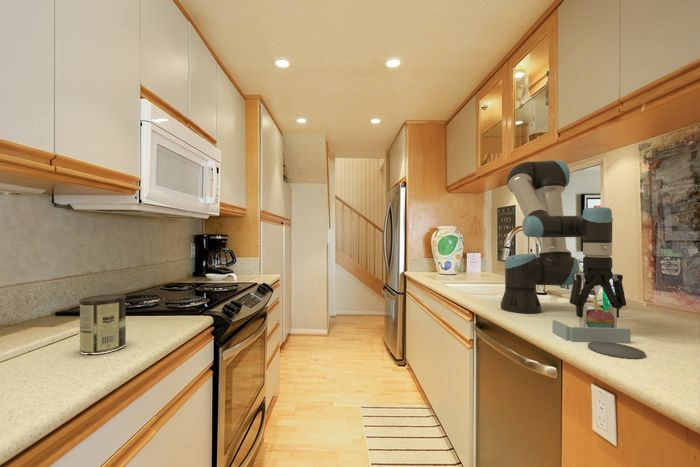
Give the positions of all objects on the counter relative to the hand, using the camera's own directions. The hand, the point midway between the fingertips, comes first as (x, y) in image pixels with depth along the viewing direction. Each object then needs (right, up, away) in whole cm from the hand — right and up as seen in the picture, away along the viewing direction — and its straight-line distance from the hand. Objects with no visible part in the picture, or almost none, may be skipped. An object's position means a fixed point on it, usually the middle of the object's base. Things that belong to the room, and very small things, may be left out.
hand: (597, 327), depth 106 cm
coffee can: (-146, -2, -15) cm, 147 cm away
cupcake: (0, -2, 0) cm, 2 cm away
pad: (-8, -2, -17) cm, 18 cm away
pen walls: (-6, -2, -5) cm, 8 cm away
